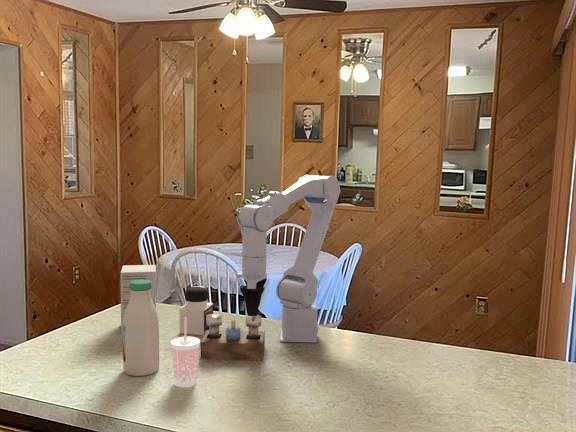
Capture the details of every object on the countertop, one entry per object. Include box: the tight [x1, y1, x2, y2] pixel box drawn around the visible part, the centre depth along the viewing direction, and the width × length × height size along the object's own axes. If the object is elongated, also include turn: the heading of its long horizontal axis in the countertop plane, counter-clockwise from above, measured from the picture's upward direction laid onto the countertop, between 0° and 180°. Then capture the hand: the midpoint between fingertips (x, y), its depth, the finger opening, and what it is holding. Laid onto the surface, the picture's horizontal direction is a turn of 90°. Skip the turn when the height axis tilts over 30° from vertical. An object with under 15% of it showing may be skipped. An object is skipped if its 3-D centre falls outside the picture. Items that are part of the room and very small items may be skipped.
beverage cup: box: [170, 317, 201, 388], centre depth 111 cm, size 6×6×14 cm
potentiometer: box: [225, 319, 241, 340], centre depth 128 cm, size 3×3×4 cm
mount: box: [200, 329, 266, 361], centre depth 130 cm, size 14×9×4 cm, turn 89°
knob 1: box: [206, 313, 223, 339], centre depth 129 cm, size 4×4×6 cm
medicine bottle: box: [179, 285, 214, 336], centre depth 145 cm, size 7×7×12 cm
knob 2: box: [245, 314, 262, 340], centre depth 129 cm, size 4×4×6 cm
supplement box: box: [119, 264, 157, 335], centre depth 146 cm, size 10×9×17 cm
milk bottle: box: [122, 280, 160, 377], centre depth 117 cm, size 8×8×20 cm
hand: (253, 311), depth 129 cm, fingers open, 7 cm apart
